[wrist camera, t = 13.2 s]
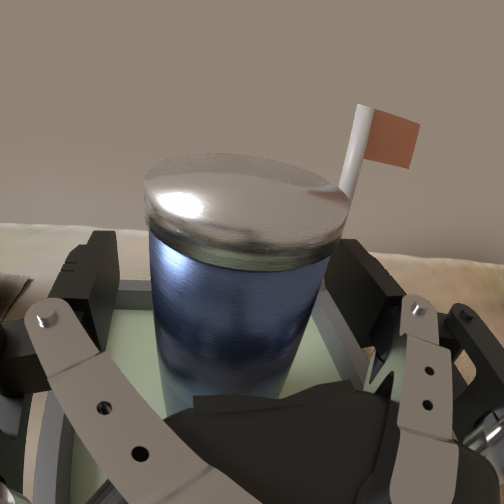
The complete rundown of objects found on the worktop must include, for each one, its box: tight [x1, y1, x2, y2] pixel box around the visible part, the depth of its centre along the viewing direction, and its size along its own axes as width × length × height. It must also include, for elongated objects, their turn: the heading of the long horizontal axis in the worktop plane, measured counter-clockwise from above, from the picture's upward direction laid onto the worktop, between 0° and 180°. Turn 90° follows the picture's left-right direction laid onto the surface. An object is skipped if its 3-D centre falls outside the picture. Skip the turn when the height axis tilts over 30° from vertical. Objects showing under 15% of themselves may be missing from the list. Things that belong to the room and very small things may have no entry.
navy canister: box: [145, 153, 350, 417], centre depth 10 cm, size 5×5×11 cm
